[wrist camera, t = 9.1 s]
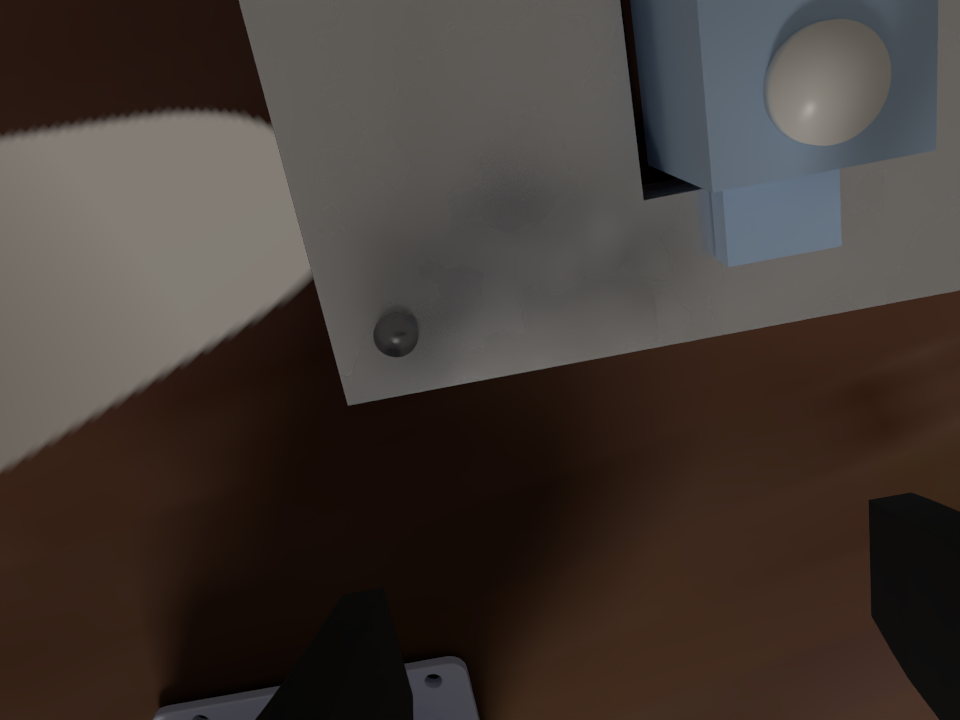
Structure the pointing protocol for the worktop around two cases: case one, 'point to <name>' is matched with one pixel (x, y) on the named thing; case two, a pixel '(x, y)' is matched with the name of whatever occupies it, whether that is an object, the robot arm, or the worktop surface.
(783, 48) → the servo
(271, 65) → the plate
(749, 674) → the worktop surface
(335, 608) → the robot arm
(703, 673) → the worktop surface
